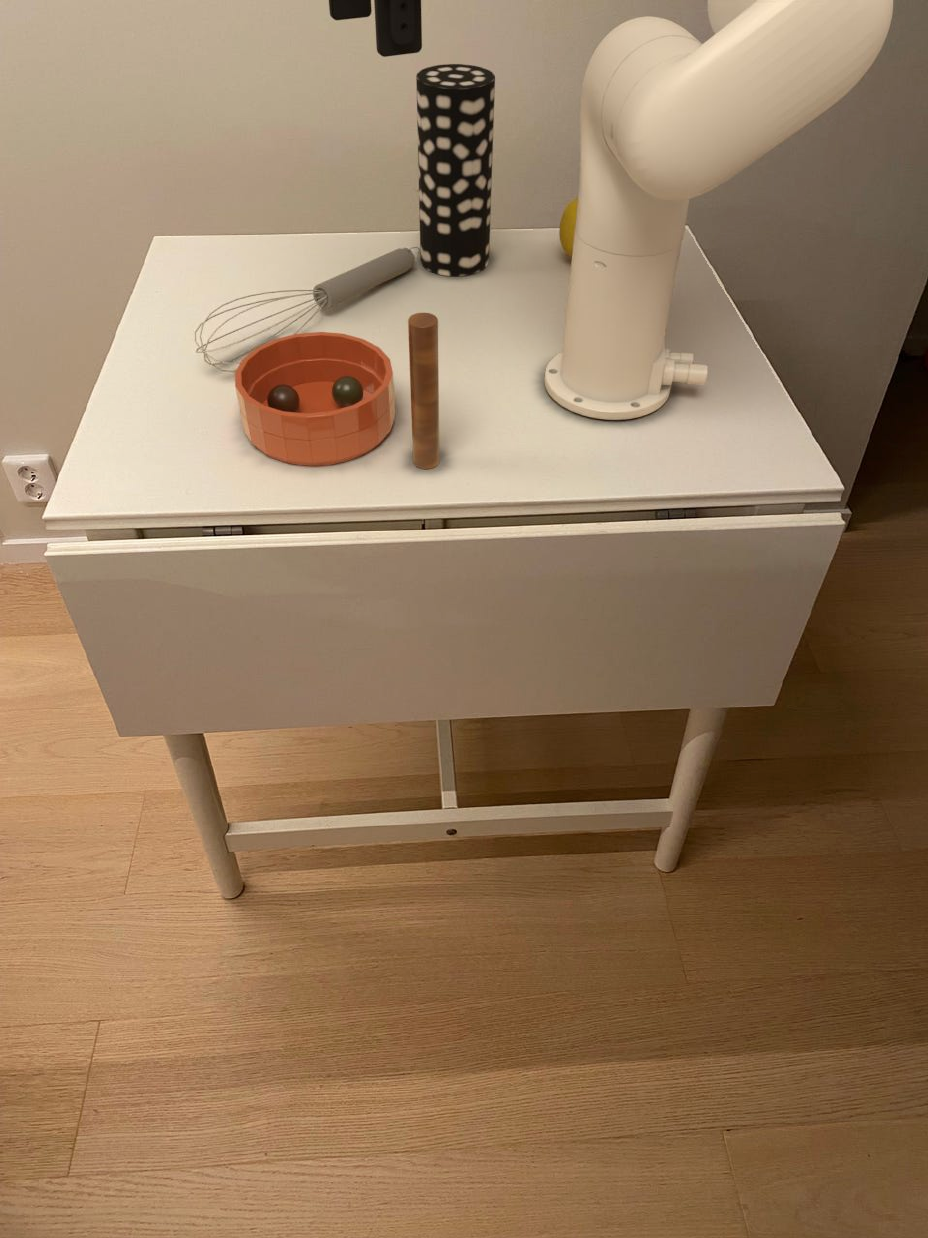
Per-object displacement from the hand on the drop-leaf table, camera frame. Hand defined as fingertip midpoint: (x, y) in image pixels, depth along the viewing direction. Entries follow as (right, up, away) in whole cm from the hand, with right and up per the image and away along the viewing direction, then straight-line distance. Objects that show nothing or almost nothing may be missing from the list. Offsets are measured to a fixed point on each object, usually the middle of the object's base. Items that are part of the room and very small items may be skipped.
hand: (374, 34), depth 67 cm
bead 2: (-5, -21, +20) cm, 30 cm away
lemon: (+21, 0, +44) cm, 49 cm away
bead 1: (-10, -22, +19) cm, 31 cm away
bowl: (-7, -24, +20) cm, 32 cm away
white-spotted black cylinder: (+5, 0, +44) cm, 45 cm away
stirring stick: (+3, -28, +16) cm, 33 cm away
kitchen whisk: (-10, -10, +34) cm, 37 cm away
